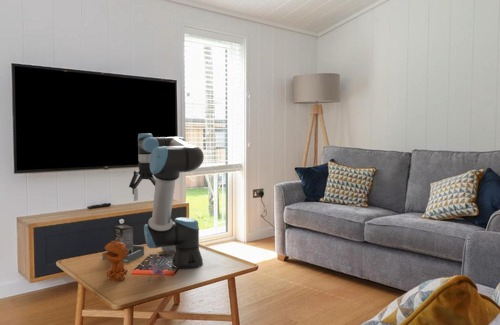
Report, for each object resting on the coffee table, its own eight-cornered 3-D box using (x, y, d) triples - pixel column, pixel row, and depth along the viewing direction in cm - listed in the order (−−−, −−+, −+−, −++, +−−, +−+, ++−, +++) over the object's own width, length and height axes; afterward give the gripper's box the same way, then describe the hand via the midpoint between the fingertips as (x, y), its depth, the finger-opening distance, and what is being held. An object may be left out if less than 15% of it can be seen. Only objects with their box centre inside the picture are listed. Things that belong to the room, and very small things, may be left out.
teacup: (176, 254, 236) (175, 240, 236) (157, 253, 239) (156, 239, 238) (185, 247, 250) (184, 234, 249) (167, 246, 252) (166, 233, 252)
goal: (144, 255, 236) (143, 245, 236) (128, 262, 223) (128, 252, 223) (118, 252, 241) (118, 243, 241) (102, 259, 228) (102, 250, 228)
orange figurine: (101, 277, 201) (100, 238, 200) (125, 273, 206) (124, 235, 205) (106, 284, 191) (105, 244, 190) (131, 280, 197) (130, 240, 195)
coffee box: (114, 255, 233) (113, 225, 232) (125, 253, 238) (124, 224, 236) (122, 259, 227) (121, 228, 225) (133, 256, 231) (133, 226, 230)
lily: (163, 287, 190) (172, 266, 193) (138, 278, 189) (146, 257, 192) (163, 286, 201) (171, 266, 204) (139, 278, 200) (147, 257, 203)
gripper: (169, 161, 236) (170, 201, 237) (129, 161, 244) (131, 198, 245) (162, 162, 229) (163, 203, 230) (121, 162, 237) (123, 201, 238)
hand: (146, 201), depth 238 cm, fingers open, 13 cm apart
